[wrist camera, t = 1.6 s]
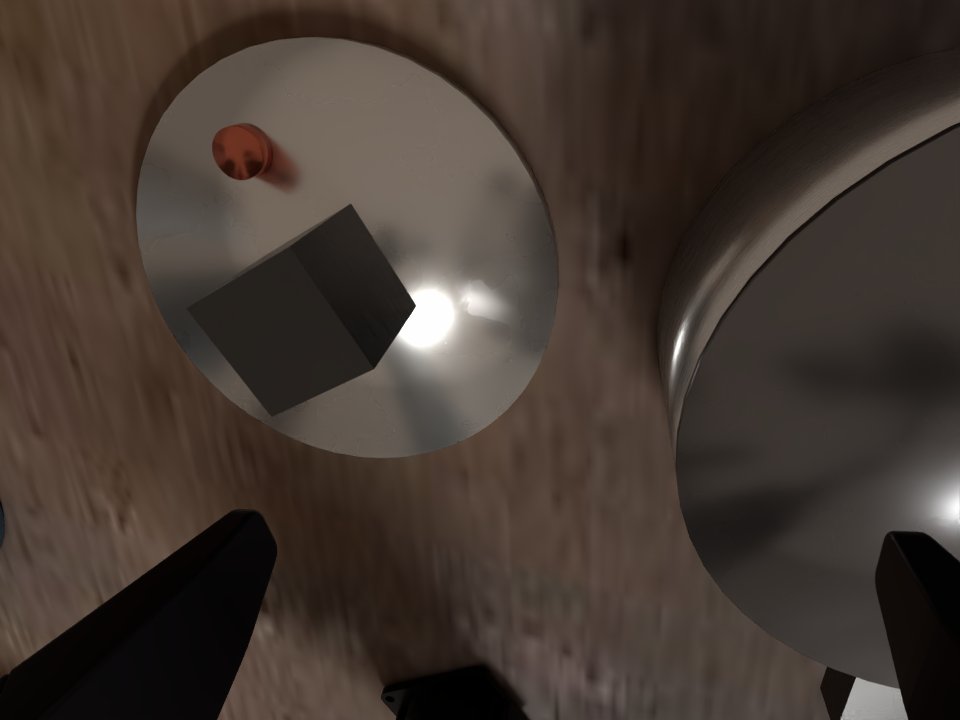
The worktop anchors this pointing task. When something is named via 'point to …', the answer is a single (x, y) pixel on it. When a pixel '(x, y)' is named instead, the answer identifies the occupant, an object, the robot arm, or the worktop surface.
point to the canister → (1, 527)
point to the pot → (824, 367)
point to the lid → (348, 246)
